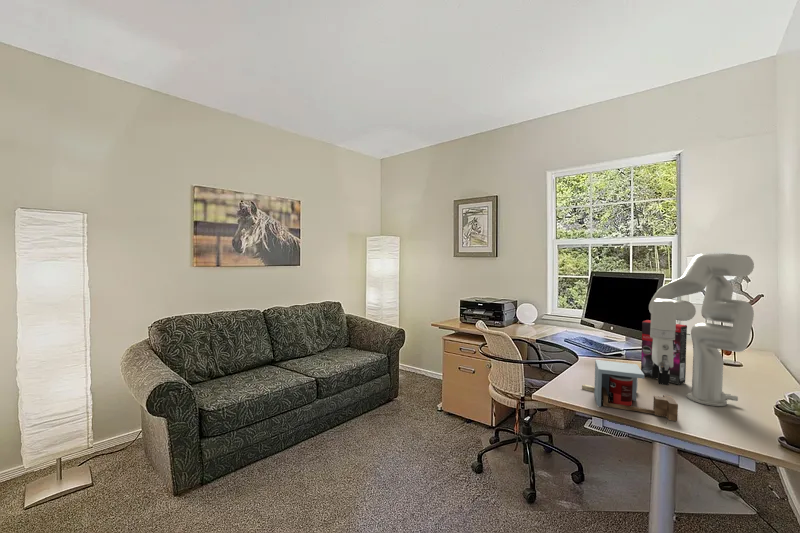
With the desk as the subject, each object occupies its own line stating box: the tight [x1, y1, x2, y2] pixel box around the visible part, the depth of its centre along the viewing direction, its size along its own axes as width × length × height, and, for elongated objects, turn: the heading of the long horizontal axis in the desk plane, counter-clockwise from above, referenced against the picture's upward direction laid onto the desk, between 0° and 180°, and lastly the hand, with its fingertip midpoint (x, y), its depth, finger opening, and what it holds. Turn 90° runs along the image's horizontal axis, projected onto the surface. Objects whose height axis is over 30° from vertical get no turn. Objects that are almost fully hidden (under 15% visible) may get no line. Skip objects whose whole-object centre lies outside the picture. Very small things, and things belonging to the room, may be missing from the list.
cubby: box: [593, 359, 645, 408], centre depth 147 cm, size 15×15×14 cm
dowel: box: [581, 383, 595, 393], centre depth 160 cm, size 12×2×2 cm, turn 47°
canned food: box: [608, 375, 633, 406], centre depth 147 cm, size 8×8×11 cm
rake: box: [601, 387, 679, 422], centre depth 142 cm, size 23×15×6 cm, turn 66°
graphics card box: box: [640, 319, 688, 385], centre depth 178 cm, size 17×7×27 cm, turn 32°
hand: (660, 380), depth 136 cm, fingers open, 9 cm apart
